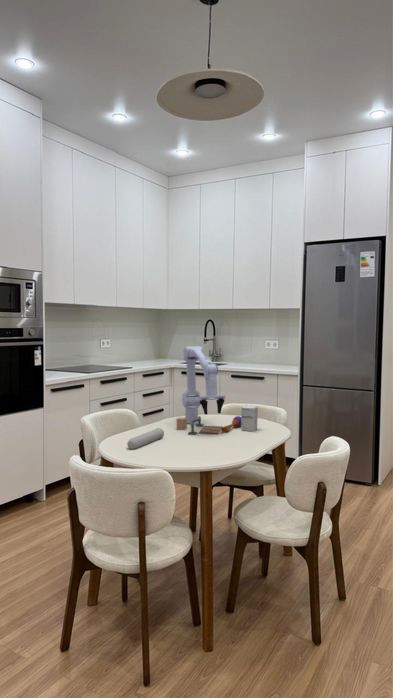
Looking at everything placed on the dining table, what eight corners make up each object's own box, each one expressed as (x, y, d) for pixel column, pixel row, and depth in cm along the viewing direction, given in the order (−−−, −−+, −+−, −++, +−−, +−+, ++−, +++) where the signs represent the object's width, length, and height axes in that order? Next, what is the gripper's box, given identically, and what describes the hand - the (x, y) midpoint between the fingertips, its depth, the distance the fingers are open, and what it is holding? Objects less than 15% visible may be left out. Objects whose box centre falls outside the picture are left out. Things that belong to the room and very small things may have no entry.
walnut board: (204, 426, 261) (204, 425, 261) (222, 427, 259) (222, 426, 259) (198, 433, 246) (198, 432, 246) (217, 434, 244) (218, 433, 244)
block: (178, 428, 258) (178, 417, 258) (186, 428, 257) (186, 417, 257) (176, 429, 254) (176, 418, 253) (184, 430, 253) (184, 419, 253)
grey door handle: (196, 424, 266) (196, 415, 266) (203, 425, 265) (203, 415, 265) (187, 434, 243) (187, 424, 242) (195, 435, 242) (195, 424, 242)
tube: (135, 442, 212) (165, 430, 234) (126, 437, 215) (156, 426, 237) (132, 453, 214) (162, 440, 235) (123, 447, 216) (153, 435, 238)
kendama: (218, 424, 249) (234, 415, 266) (220, 435, 249) (236, 425, 266) (228, 424, 246) (244, 414, 263) (230, 435, 246) (246, 425, 263)
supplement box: (240, 430, 253) (241, 407, 252) (244, 427, 259) (244, 404, 259) (254, 431, 250) (254, 408, 249) (257, 429, 257) (258, 405, 256)
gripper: (201, 388, 238) (203, 415, 238) (227, 386, 244) (228, 413, 243) (196, 388, 245) (197, 414, 244) (221, 386, 251) (222, 412, 250)
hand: (212, 413), depth 244 cm, fingers open, 7 cm apart
